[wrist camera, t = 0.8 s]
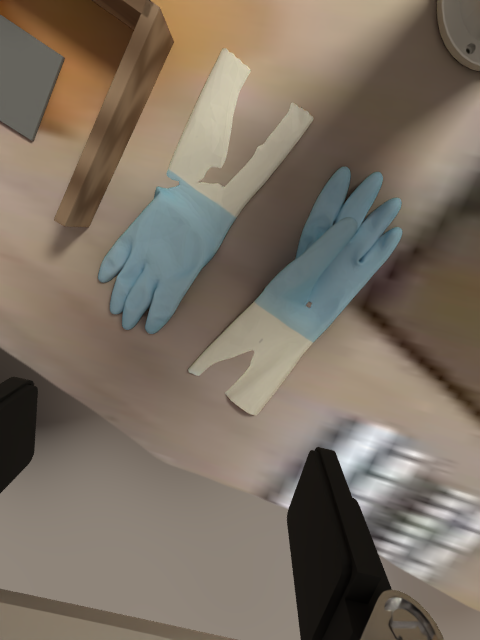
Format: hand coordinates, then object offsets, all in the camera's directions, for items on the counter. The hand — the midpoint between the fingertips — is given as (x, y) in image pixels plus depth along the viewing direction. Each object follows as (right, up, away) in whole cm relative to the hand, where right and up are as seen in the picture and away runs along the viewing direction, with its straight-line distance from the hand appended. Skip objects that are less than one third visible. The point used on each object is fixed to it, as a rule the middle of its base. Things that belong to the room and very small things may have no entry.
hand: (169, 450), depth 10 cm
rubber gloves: (+3, +12, +27) cm, 30 cm away
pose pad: (-21, +30, +22) cm, 43 cm away
